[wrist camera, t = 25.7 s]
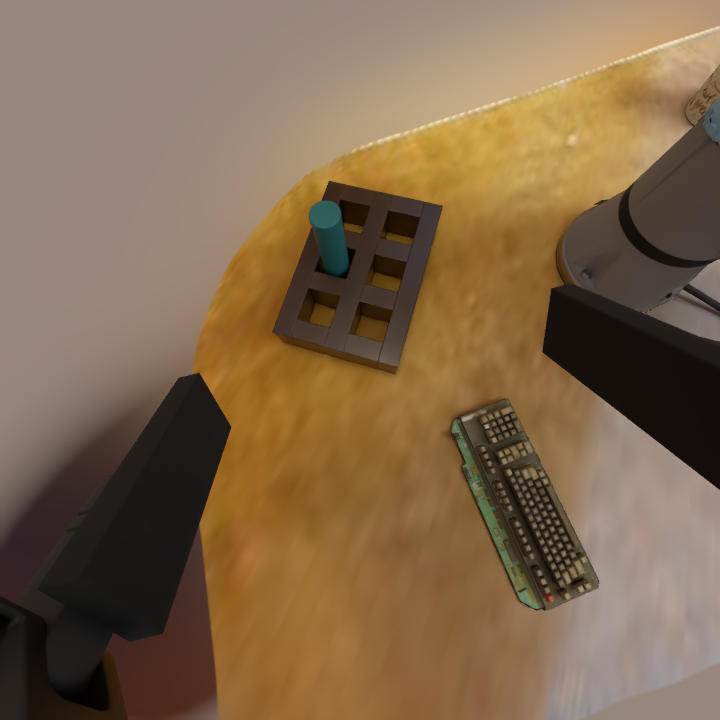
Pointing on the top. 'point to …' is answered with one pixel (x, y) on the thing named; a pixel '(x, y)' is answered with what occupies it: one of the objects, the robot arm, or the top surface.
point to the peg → (330, 237)
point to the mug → (704, 98)
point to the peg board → (362, 278)
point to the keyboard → (522, 509)
